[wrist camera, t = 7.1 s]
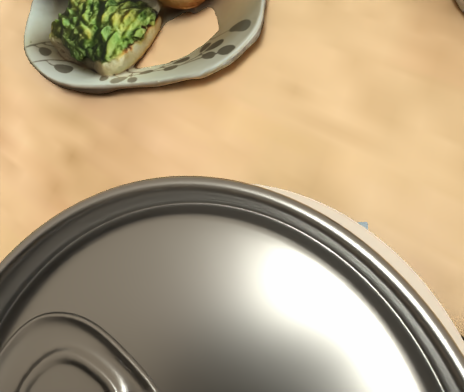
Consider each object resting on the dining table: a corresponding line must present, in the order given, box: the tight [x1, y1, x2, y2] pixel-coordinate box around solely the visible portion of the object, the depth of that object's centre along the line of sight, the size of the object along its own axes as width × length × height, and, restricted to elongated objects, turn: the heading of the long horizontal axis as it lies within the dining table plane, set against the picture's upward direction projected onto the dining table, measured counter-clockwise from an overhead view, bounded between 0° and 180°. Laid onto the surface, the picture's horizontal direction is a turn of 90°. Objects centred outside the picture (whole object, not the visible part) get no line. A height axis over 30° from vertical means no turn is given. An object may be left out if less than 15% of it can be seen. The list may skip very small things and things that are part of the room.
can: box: [0, 176, 464, 392], centre depth 9 cm, size 6×6×12 cm
